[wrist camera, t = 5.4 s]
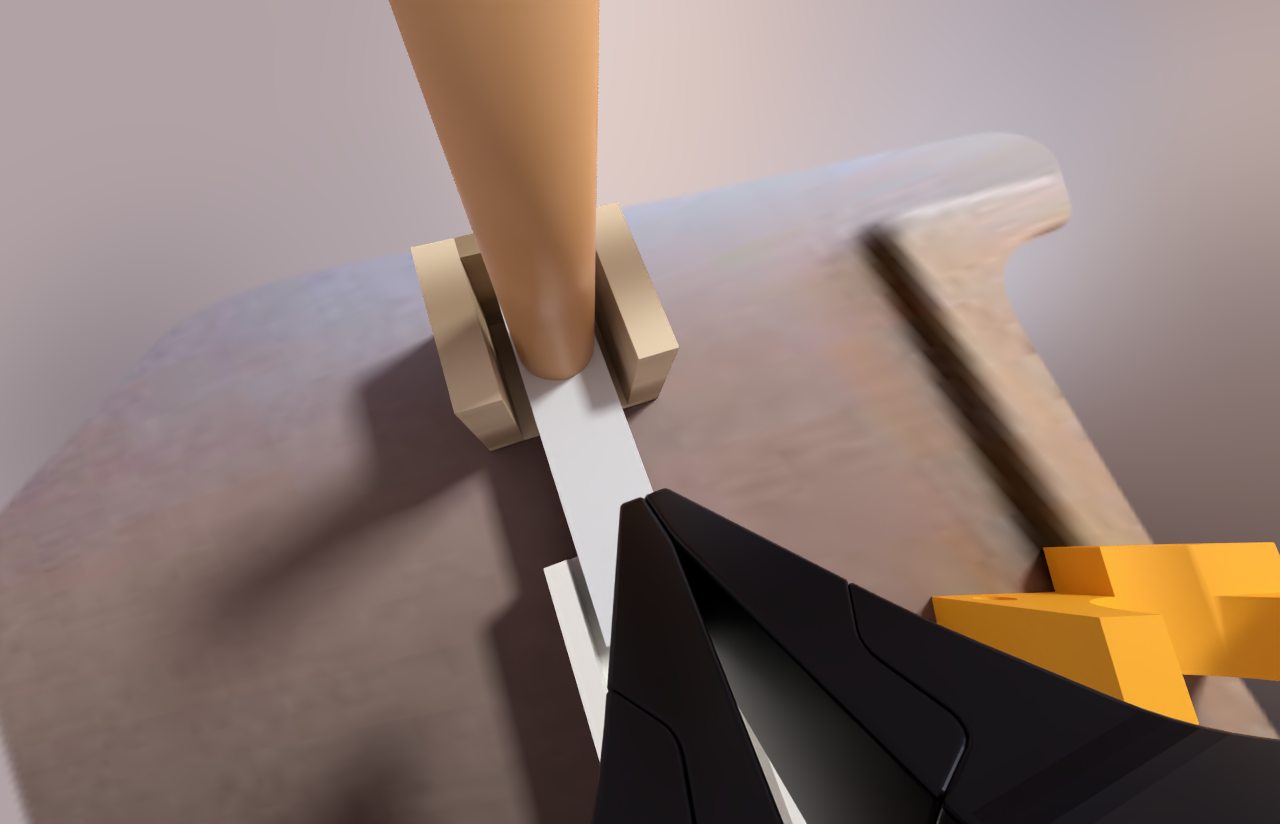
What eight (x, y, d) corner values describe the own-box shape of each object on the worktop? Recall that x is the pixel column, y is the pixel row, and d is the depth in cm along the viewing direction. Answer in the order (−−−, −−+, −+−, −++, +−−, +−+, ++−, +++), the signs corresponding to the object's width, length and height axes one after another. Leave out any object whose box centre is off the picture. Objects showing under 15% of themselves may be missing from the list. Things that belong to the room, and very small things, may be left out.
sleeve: (811, 867, 15) (867, 946, 12) (666, 951, 14) (687, 1062, 11) (678, 518, 18) (696, 510, 15) (551, 565, 17) (543, 568, 14)
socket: (657, 398, 19) (679, 347, 15) (490, 451, 18) (454, 414, 13) (611, 282, 21) (617, 201, 16) (454, 322, 19) (410, 247, 15)
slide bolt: (683, 602, 16) (1052, 789, 3) (604, 634, 16) (670, 1026, 3) (576, 309, 19) (547, -192, 6) (507, 327, 19) (320, -185, 6)
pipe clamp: (1169, 544, 20) (1423, 539, 14) (1208, 652, 19) (1508, 700, 13) (919, 550, 19) (1078, 549, 13) (942, 667, 17) (1133, 729, 11)
